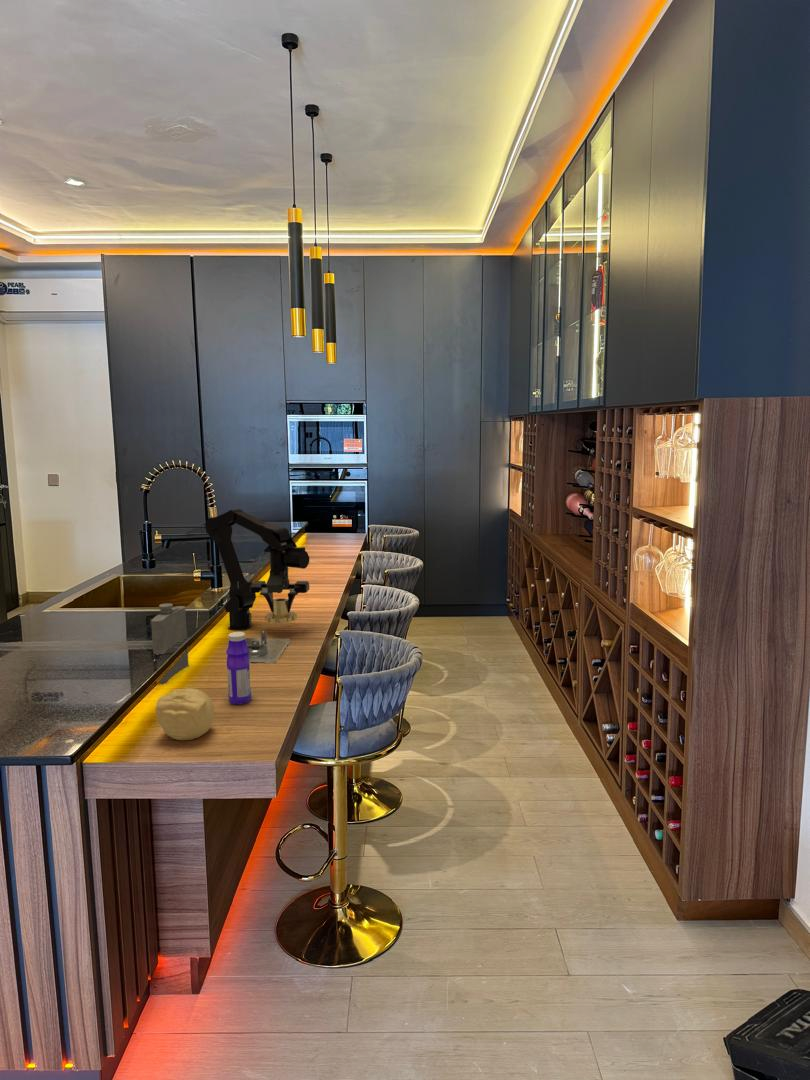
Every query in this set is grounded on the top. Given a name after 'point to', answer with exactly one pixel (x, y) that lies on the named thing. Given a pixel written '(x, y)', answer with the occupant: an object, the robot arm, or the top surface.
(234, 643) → the bottle
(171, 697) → the sculpture
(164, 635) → the hip flask
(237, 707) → the top surface
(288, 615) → the gear
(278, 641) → the carrier plate
